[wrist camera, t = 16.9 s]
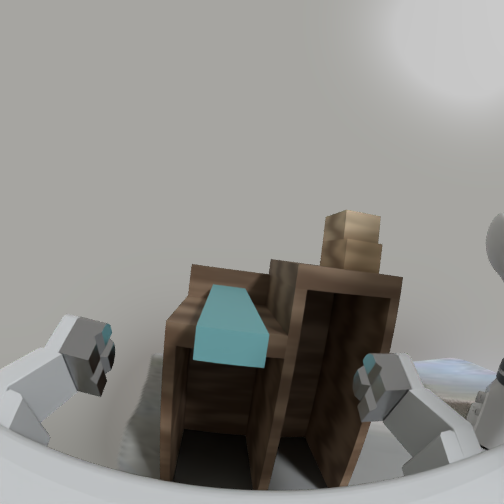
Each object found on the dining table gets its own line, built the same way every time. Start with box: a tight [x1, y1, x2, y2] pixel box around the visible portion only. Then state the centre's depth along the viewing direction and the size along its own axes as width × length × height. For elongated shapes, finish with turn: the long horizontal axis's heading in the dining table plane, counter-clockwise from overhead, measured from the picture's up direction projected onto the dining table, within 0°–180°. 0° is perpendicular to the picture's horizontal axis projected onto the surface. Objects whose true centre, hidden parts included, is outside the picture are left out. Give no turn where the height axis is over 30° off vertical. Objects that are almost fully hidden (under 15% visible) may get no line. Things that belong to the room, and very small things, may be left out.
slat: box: [193, 284, 269, 368], centre depth 28 cm, size 22×4×2 cm, turn 4°
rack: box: [160, 210, 403, 490], centre depth 33 cm, size 16×20×32 cm
